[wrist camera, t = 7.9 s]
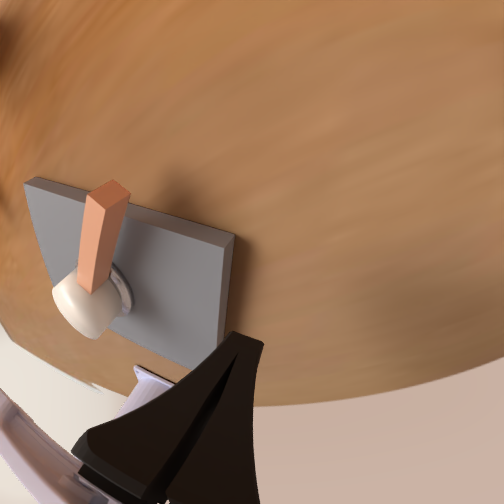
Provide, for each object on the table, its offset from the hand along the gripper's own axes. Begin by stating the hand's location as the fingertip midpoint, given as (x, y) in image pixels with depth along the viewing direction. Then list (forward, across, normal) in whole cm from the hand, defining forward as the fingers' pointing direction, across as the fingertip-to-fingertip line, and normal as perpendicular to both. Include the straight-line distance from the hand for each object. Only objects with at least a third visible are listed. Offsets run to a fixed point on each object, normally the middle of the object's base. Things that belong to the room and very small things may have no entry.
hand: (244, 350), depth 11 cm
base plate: (+6, +13, +6) cm, 16 cm away
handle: (+4, +11, +2) cm, 12 cm away
